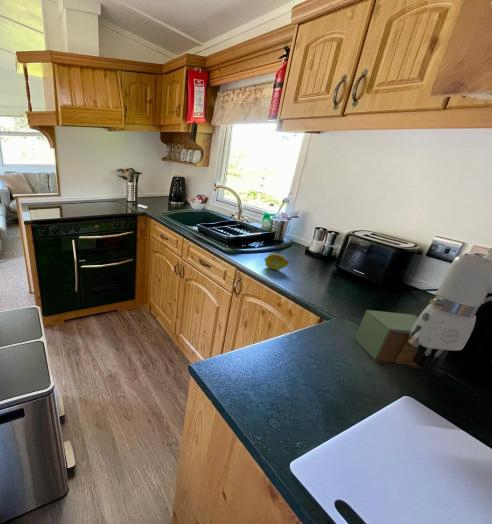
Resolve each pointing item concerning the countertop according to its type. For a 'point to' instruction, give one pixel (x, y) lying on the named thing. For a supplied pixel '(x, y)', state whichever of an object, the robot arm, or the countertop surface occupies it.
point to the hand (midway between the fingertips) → (420, 364)
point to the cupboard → (385, 335)
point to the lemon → (276, 261)
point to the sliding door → (410, 352)
